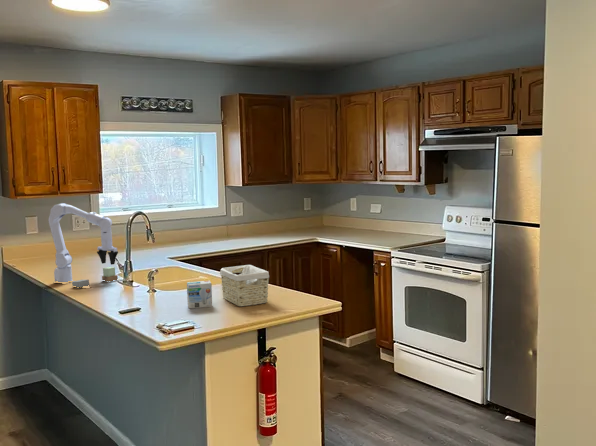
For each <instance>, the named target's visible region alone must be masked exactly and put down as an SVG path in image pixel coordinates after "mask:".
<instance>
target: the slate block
mask: <svg viewBox="0 0 596 446" xmlns="http://www.w3.org/2000/svg"><path fill="white" fill-rule="evenodd" d="M72 281H73V282H72V283H71V285H72V287H73V286H76V287H83V286H88V285H89V286H90V280H89V279H79V280H72Z"/></svg>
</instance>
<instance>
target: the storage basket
mask: <svg viewBox="0 0 596 446" xmlns="http://www.w3.org/2000/svg"><path fill="white" fill-rule="evenodd" d="M269 272H270V271H269V270H268V271H267V270H265V269H262V268H260V267H256V266H254V265H252V264H245V265H236V266H228V267H222V268H221V269H220V271H219V274H220V277H221V279H220V280H221V289H222V290H221V291H222V297H223V299H224V300H226V301H228V302H230V303H231V304H233V305H236V306H238V307H246V306H255V305H261V304H266V303H267V302H268V297H269V296H268V294H269V291H268V290H269V280H270V273H269ZM236 273H239V274H236Z"/></svg>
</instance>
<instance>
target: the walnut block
mask: <svg viewBox="0 0 596 446" xmlns="http://www.w3.org/2000/svg"><path fill="white" fill-rule="evenodd" d="M117 279H118V275H116V274H115V276H110V277H106V276H103V275H101V281H102V280H105V281H113V280H117ZM118 280H119V279H118Z"/></svg>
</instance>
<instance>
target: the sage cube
mask: <svg viewBox="0 0 596 446" xmlns="http://www.w3.org/2000/svg"><path fill="white" fill-rule="evenodd" d="M102 274H103V275H102V276H106V277H110V276H115V275H116V268H115V266H107V267H102Z"/></svg>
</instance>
